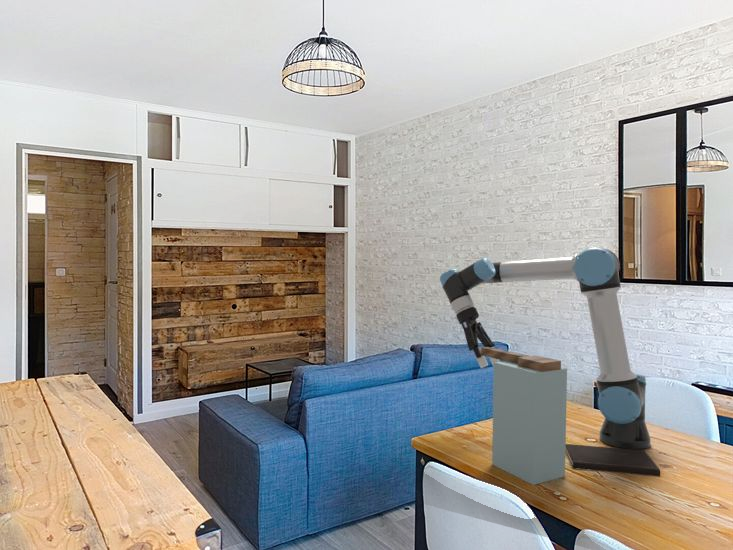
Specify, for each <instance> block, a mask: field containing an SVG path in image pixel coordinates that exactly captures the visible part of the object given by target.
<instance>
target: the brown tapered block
mask: <svg viewBox="0 0 733 550" xmlns="http://www.w3.org/2000/svg"><path fill="white" fill-rule="evenodd" d="M480 348H481V355H482V356H485V358H486V357H487V358H489V357H491V358H495V359H499V361H507V362H512V363H516V364H518V366H520V367H524V368H528V369H532V370H537V371H541V372H546V371H554V370H561V368H562V360H559V359H555V358H549V357H545V356H540V355H527V354H522V353H517V352H514V351H508V350H504V349H499V348H494V347H493V348H491V347H484V346H483V347H480Z"/></svg>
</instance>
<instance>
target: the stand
mask: <svg viewBox="0 0 733 550" xmlns="http://www.w3.org/2000/svg"><path fill="white" fill-rule="evenodd" d="M492 384H493V385H492V386H493V387H492V388H493V389H492V391H493V392H492V393H493V394H492V395H493V397H492V398H493V399H492V449H491V450H492V454H491V456H492V457H491V459H492V460H491V463H492V466H494V467H496V468H499V469H500V470H502V471H504V472H507V473H508V474H511V475H512V476H515V477H517V478H519V479H520V480H523V481H525V482H526V483H529V484H531V485H533V486H534V485H535V486H536V485H539V484H543V483H546V482H550V481H554V480H557V479H561V478H565V477H566V444H567V443H566V441H567V439H566V437H567V391H568V390H567V388H568V385H567V384H568V368H565V367H561V370H554V371H546V372H541V371H537V370H532V369H528V368H524V367H520V366H518V364H516V363H512V362H507V361H503V360H501V361H500V362H494V367H493V383H492Z"/></svg>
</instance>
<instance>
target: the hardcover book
mask: <svg viewBox="0 0 733 550" xmlns="http://www.w3.org/2000/svg"><path fill="white" fill-rule="evenodd" d="M565 453H566V454H567V456H568V459H569V461H570V462H571V465H572V469H576V468H580V469H579V470H587V469H590V471H601V472H611V473H623V474H633V475H634V474H635V475H644V476H656V477H657V476H658V477H660V476H661V469H660V468H659V466H657V464H656V463H655V462H654V461H653V459H652V458H651V457H650V456H649V455H648V453H647V452H646V451H645V450H644V449H626V448H620V447H608V446H593V445H586V444H585V445H583V444H570V443H566V450H565Z"/></svg>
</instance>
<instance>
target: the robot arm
mask: <svg viewBox="0 0 733 550" xmlns="http://www.w3.org/2000/svg"><path fill="white" fill-rule="evenodd" d="M620 269H621V264H620V259H619V257H618V256H617V254H616V253H614V252H613V251H612V250H610V249H606V248H604V247H598V246H595V247H589V248H586V249H585V250H583V251H582V252H579V253H575V255H574V256H567V257H552V258H540V259H527V260H513V261H511V260H510V261H498V262H492V261H491V260H490V259H489V258H488V257H482V258H480V259H479V260H476V261H474V262H473V263H472V264H469V265H468V266H467V267H465V268H464V269H462V270H460V271H459V270H458V269H457V268H452V269H448V270H447V271H445V272H443V273H441V275H440V276H439V281H440V284H441V287H442V290H443V291H444V293H445V296H446V297H447V300H448V301H449V303H450V306H451V310H453V312H454V314H456V316H455V317H456V319H457V321H458V324H459V325H461V327H462V329H463V332H464V335H465V339H466V344H467V347H468V350H469V351H470V352H471V351H472V352H473V355H474V356H475V359H476V361H477V363H478V365H479V367H480V369H483V368H485V367H487V366H489V363H488V361H487V358H486V356H482V355H481V347H480V346H479V342H480V343H481V344H482V345H483V347H491V348H494V347H495V343H493V341H492V340H491V338H490V337H489V335H488V333H487V332H486V330H485V329H484V327H483V325H482V323H481V322H480V321H479V322H478V321H477V319H478V318H479V317H480V314H479V312H478V310H477V308H476V307H475V303H474V302H473V299H472V297H471V295H470V293H469V291H471V290H472V289H473V288H476V287H477V286H479V285H484V284H497V283H499V284H500V283H513V282H532V281H533V282H535V281H554V280H555V281H556V280H576V281H577V282H578V284H579V289H580V293H581V295H583V296H584V297H585V298H586V299H587V305H588V310H589V316H590V321H591V326H592V332H593V337H594V343H595V350H596V355H597V359H598V360H597V362H598V366H599V371H600V373H599V375H598V376H597V378H596V384H597V390H598V391H597V392H598V398H597V405H598V409H599V411H600V413H601V415H602V416H603V417H604V420H603V423H602V425H601V428H600V429H599V430H600V431H599V440H600V441H601V442H603V443H604V444H606V445H610V446H612V447H614V448H622V449H634V450H644V449H645V450H646V449H648V448H650V447H651V437H650V433H649V430H648V426H647V423H646V418H645V417H646V389H647V388H646V386H647V381H646V377H645V375H643V374H640V373H634V372H633V371H632V370H631V364H630V360H629V355H628V349H627V344H626V339H625V333H624V327H623V322H622V316H621V310H620V306H619V300H618V292H619V290H620V289H621V288H622V286H621V281H620V275H619V273H620ZM488 359H489V360H490V362H491V365H492V367H493V368H494V362H501V360H499V359H495V358H491V357H488Z"/></svg>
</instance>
